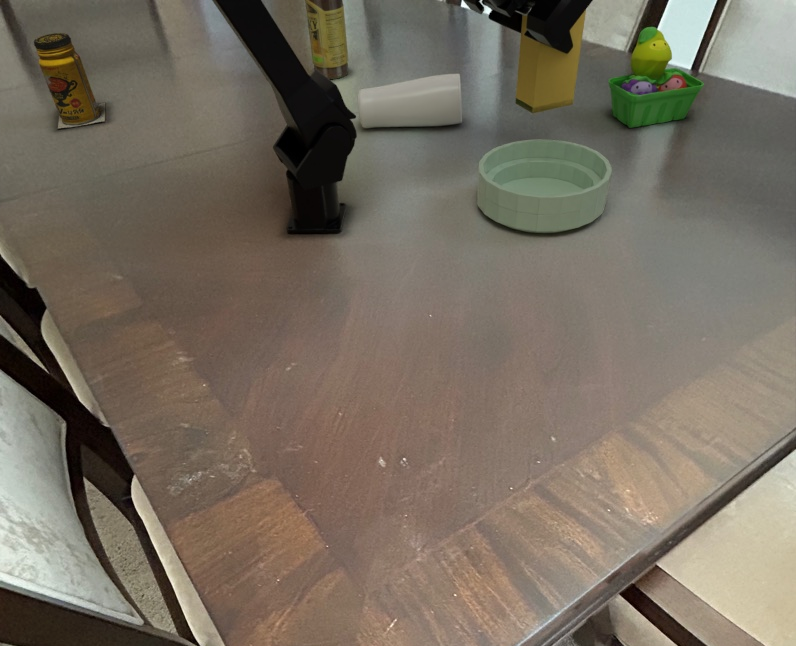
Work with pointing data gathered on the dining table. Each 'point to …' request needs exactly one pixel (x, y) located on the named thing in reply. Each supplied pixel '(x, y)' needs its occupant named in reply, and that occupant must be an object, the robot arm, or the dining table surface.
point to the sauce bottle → (328, 37)
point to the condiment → (67, 81)
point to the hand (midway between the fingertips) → (559, 45)
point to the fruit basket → (652, 85)
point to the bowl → (543, 185)
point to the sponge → (547, 71)
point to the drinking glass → (412, 103)
